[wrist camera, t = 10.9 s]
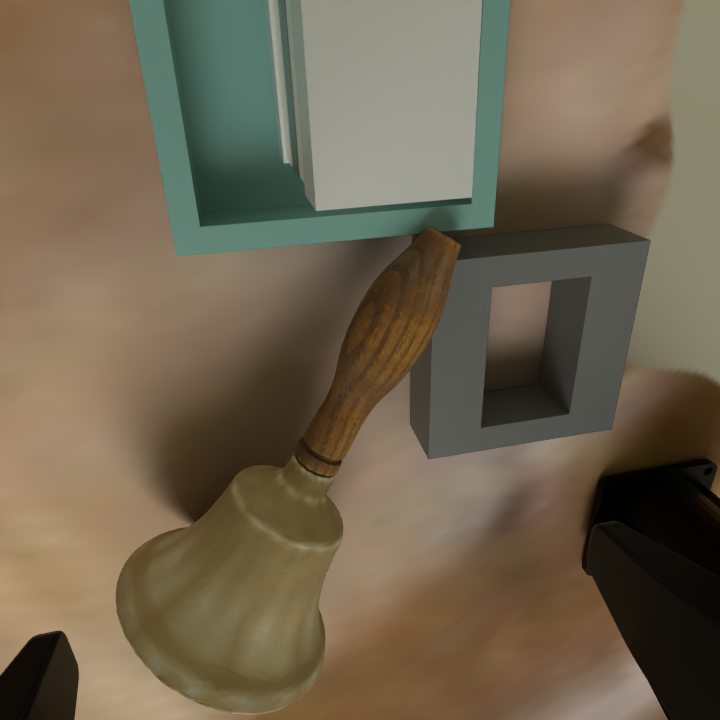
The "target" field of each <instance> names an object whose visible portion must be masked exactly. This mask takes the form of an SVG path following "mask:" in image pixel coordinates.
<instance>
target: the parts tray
mask: <svg viewBox="0 0 720 720" xmlns="http://www.w3.org/2000/svg"><path fill="white" fill-rule="evenodd" d="M510 1H511V0H482V14H481V33H480V53H479V72H478V91H477V110H476V129H475V149H474V168H473V187H472V197H471V198H459V199H448V200H437V201H425V202H414V203H402V204H391V205H379V206H368V207H356V208H345V209H334V210H322V211H316V210H315V209H314V207H313V206H312V204H311V203H310V201H309V200H308V198H307V197H306V195H305V185H304V182H303V180H302V179H301V178H299V177H298V176H297V174H296V173H295V171H294V170H293V167H292V166H291V164H290V163H283V161H282V160H281V158H280V157H279V152H278V141H277V131H276V121H275V111H274V101H273V91H272V80H271V70H270V60H269V50H268V40H267V30H266V19H265V9H264V0H129V4H130V10H131V15H132V20H133V26H134V31H135V36H136V42H137V47H138V52H139V58H140V63H141V68H142V74H143V79H144V84H145V90H146V95H147V101H148V106H149V111H150V117H151V122H152V127H153V133H154V138H155V143H156V149H157V154H158V159H159V165H160V170H161V175H162V181H163V186H164V191H165V197H166V202H167V207H168V213H169V218H170V224H171V229H172V234H173V240H174V245H175V250H176V256H185V255H196V254H207V253H217V252H228V251H239V250H250V249H261V248H271V247H282V246H293V245H304V244H315V243H326V242H336V241H347V240H358V239H369V238H380V237H390V236H401V235H412V234H421V233H422V232H423V231H424V229H425V228H426V227H428V226H429V227H432V228H434V229H436V230H438V231H440V232H444V231H455V230H466V229H477V228H488V227H494V213H495V200H496V187H497V174H498V160H499V147H500V134H501V121H502V107H503V94H504V81H505V68H506V54H507V41H508V28H509V15H510Z"/></svg>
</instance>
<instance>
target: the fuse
mask: <svg viewBox="0 0 720 720" xmlns="http://www.w3.org/2000/svg"><path fill="white" fill-rule="evenodd" d="M264 9H265V19H266V30H267V40H268V50H269V60H270V70H271V80H272V91H273V101H274V111H275V121H276V131H277V141H278V152H279V157H280V158H281V160H282V161H283V163H290V164H291V166H292V167H293V170H294V171H295V173H296V174H297V176H298V177H299V178H301V179H302V180H303V182H304V185H305V195H306V197H307V198H308V200H309V201H310V203H311V204H312V206H313V207H314V209H315V210H316V211H322V210H334V209H345V208H356V207H368V206H379V205H391V204H402V203H414V202H425V201H437V200H448V199H459V198H471V197H472V187H473V168H474V149H475V129H476V110H477V91H478V72H479V53H480V33H481V14H482V0H264Z"/></svg>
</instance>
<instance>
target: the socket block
mask: <svg viewBox="0 0 720 720" xmlns="http://www.w3.org/2000/svg"><path fill="white" fill-rule="evenodd" d="M452 239H454V240H455V241H457V242H458V243H460V244H461V249H460V251H459V254H458V257H457V260H456V263H455V267H454V270H453V274H452V278H451V283H450V288H449V293H448V297H447V301H446V305H445V308H444V311H443V314H442V317H441V319H440V322H439V324H438V326H437V328H436V330H435V332H434V334H433V336H432V338H431V339H430V341H429V343H428V345H427V346H426V348H425V350H424V351H423V353H422V354H421V356H420V357H419V359H418V360H417V361H416V363H415V364H414V365H413V367H412V368H411V387H410V425H411V427H412V429H413V431H414V433H415V435H416V437H417V438H418V440H419V442H420V444H421V446H422V448H423V450H424V452H425V453H426V455H427V457H428V459H434V458H440V457H446V456H452V455H458V454H464V453H470V452H476V451H482V450H488V449H494V448H500V447H506V446H512V445H518V444H524V443H530V442H537V441H543V440H549V439H555V438H561V437H567V436H573V435H579V434H585V433H591V432H597V431H603V430H609V429H612V426H613V421H614V416H615V411H616V407H617V402H618V397H619V392H620V387H621V382H622V377H623V372H624V368H625V363H626V358H627V353H628V348H629V343H630V338H631V333H632V329H633V324H634V319H635V314H636V309H637V304H638V300H639V295H640V290H641V285H642V280H643V275H644V270H645V265H646V261H647V256H648V251H649V246H650V240H648V239H646V238H643V237H641V236H638V235H636V234H633V233H631V232H628V231H626V230H623V229H621V228H618V227H616V226H613V225H611V224H600V225H589V226H579V227H568V228H558V229H547V230H537V231H526V232H516V233H505V234H495V235H484V236H474V237H463V238H452ZM412 243H413V242H412ZM546 281H552V289H551V297H550V305H549V312H548V320H547V328H546V336H545V343H544V351H543V359H542V367H541V374H540V382H539V384H537V385H530V386H523V387H516V388H509V389H502V390H496V391H489V392H484V379H485V366H486V353H487V341H488V328H489V315H490V302H491V289H492V287H501V286H510V285H519V284H528V283H537V282H546Z"/></svg>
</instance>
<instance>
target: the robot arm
mask: <svg viewBox="0 0 720 720" xmlns="http://www.w3.org/2000/svg"><path fill="white" fill-rule="evenodd" d="M716 470H717V466H716V464H714V463H713V462H712V461H711V460H709V459H701V460H696V461H690V462H684V463H679V464H673V465H668V466H662V467H657V468H651V469H646V470H640V471H635V472H629V473H624V474H618V475H613V476H608V477H605V478H603V479H602V480H601V481H600V482H599V484H598V488H597V493H596V498H595V502H594V507H593V512H592V517H591V522H590V527H589V532H588V537H587V542H586V547H585V552H584V557H583V562H582V568H583V570H584V571H585V572H586V574H587V575H589V576H592V577H593V579H594V581H595V583H596V585H597V587H598V589H599V591H600V593H601V595H602V597H603V599H604V601H605V603H606V605H607V607H608V609H609V611H610V613H611V615H612V617H613V619H614V621H615V623H616V625H617V627H618V629H619V631H620V633H621V635H622V637H623V639H624V641H625V643H626V645H627V647H628V649H629V650H630V652H631V654H632V655H633V657H634V659H635V661H636V662H637V664H638V666H639V667H640V669H641V670H642V672H643V674H644V675H645V677H646V678H647V680H648V682H649V684H650V686H651V688H652V690H653V692H654V693H655V695H656V697H657V699H658V701H659V703H660V705H661V707H662V709H663V711H664V713H665V715H666V717H667V719H668V720H720V498H719V497H717V496H716V495H715V494H714V493H713V492H712V491H710V489H711V486H712V483H713V480H714V477H715V473H716ZM78 680H79V671H78V664H77V661H76V659H75V656H74V654H73V652H72V649H71V647H70V644H69V642H68V639H67V637H66V635H65V633H63V632H62V631H54V632H49V633H44V634H39V635H36V636H34V637H32V638H31V639H30V640H29V641H28V642H27V643H26V645H25V646H24V647H23V648H22V650H21V651H20V652H19V653H18V654H17V656H16V657H15V658H14V659H13V661H12V662H11V663H10V664H9V665H8V667H7V668H6V669H5V670H4V672H3V673H2V674H1V675H0V720H74V718H75V709H76V699H77V690H78Z"/></svg>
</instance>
